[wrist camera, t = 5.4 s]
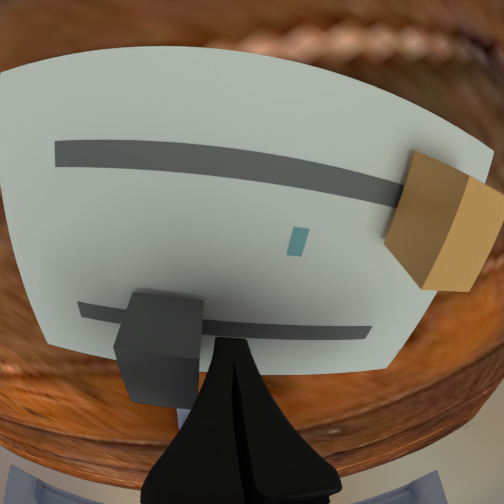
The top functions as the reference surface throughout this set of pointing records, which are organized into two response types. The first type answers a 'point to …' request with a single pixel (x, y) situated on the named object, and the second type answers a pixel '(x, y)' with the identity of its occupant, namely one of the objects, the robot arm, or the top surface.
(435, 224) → the tan fader
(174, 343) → the black fader
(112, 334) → the fader panel
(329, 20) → the top surface
